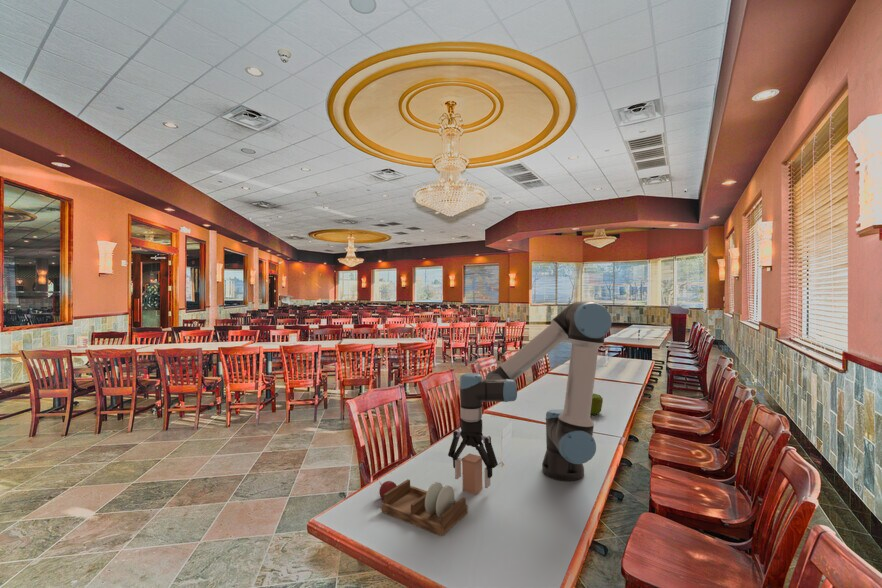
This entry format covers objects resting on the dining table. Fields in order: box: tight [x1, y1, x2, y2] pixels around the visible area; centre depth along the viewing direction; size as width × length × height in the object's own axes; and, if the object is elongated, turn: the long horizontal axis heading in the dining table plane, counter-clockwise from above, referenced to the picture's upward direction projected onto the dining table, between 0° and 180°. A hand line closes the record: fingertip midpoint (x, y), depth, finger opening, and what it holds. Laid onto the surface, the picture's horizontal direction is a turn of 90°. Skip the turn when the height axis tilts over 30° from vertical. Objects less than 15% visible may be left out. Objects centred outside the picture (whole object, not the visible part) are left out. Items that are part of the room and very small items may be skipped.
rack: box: [381, 478, 469, 537], centre depth 120 cm, size 23×14×5 cm, turn 55°
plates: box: [425, 481, 455, 518], centre depth 117 cm, size 5×9×9 cm, turn 145°
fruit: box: [376, 478, 398, 501], centre depth 130 cm, size 6×6×8 cm
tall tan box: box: [461, 453, 483, 495], centre depth 134 cm, size 5×5×11 cm
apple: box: [590, 393, 604, 416], centre depth 218 cm, size 12×12×11 cm
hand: (472, 482), depth 134 cm, fingers open, 11 cm apart
